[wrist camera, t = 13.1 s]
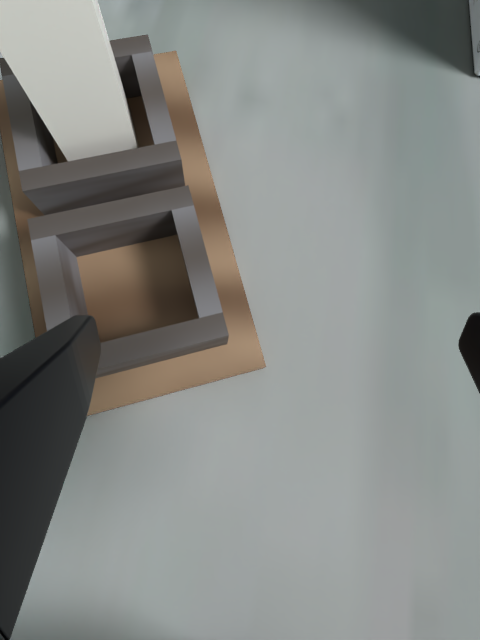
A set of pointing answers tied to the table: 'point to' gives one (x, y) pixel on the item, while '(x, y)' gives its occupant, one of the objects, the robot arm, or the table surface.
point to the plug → (68, 73)
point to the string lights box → (475, 32)
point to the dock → (131, 239)
